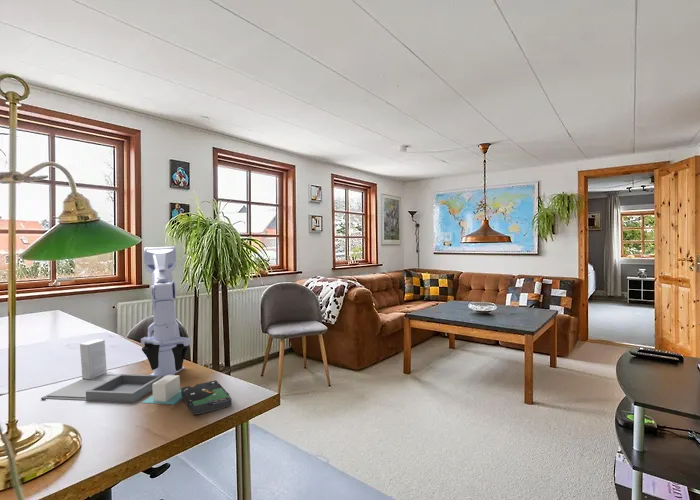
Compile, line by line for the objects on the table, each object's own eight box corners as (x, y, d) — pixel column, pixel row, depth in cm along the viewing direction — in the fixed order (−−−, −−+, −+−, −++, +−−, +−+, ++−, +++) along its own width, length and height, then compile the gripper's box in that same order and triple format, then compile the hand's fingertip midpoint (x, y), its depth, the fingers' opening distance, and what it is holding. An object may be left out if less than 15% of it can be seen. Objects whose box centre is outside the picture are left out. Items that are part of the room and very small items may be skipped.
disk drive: (180, 397, 111) (193, 416, 99) (180, 387, 111) (193, 405, 99) (216, 388, 117) (232, 405, 105) (216, 379, 117) (232, 395, 105)
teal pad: (163, 389, 118) (163, 388, 118) (193, 390, 116) (193, 389, 116) (141, 404, 108) (141, 402, 108) (173, 405, 107) (173, 403, 107)
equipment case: (80, 381, 126) (80, 372, 126) (163, 384, 122) (163, 375, 122) (41, 399, 113) (40, 389, 112) (133, 403, 108) (132, 393, 108)
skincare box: (98, 372, 135) (96, 339, 134) (107, 373, 133) (105, 339, 133) (81, 378, 129) (79, 343, 129) (90, 379, 128) (88, 344, 127)
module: (168, 391, 115) (167, 374, 115) (180, 391, 115) (179, 375, 115) (153, 401, 109) (152, 384, 108) (165, 401, 108) (165, 384, 108)
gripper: (132, 326, 108) (134, 373, 109) (179, 327, 106) (181, 374, 107) (149, 320, 115) (151, 364, 116) (193, 321, 113) (195, 366, 114)
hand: (166, 369), depth 112 cm, fingers open, 7 cm apart
